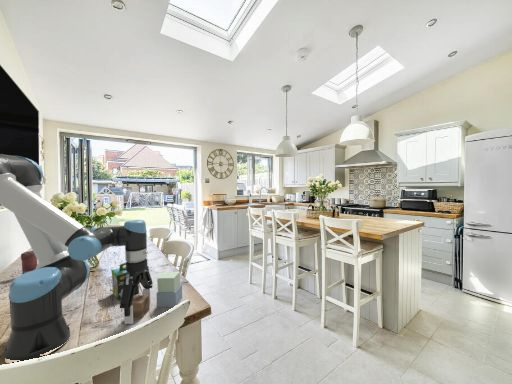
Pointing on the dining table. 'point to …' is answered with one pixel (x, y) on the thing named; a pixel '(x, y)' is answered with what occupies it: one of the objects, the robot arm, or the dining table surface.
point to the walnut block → (140, 305)
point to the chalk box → (120, 281)
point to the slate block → (169, 297)
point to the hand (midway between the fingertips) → (138, 313)
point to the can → (28, 261)
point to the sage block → (168, 281)
